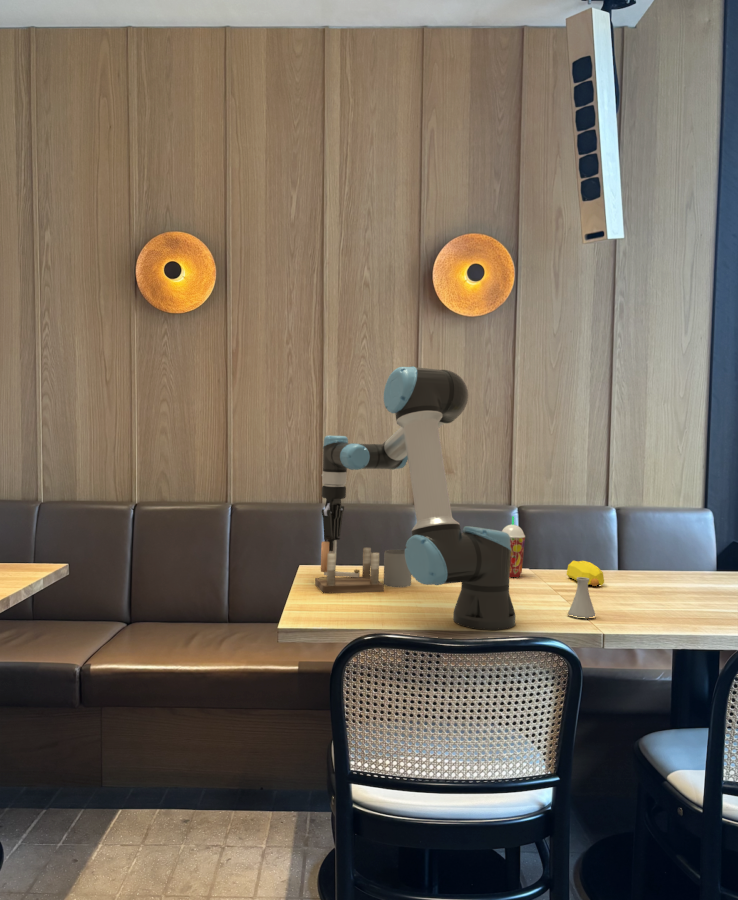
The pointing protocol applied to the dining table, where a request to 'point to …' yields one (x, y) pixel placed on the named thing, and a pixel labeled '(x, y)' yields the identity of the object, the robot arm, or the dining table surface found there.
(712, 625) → the dining table surface
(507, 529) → the smoothie
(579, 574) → the yellow lumpy oval
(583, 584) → the flask
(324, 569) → the crank handle
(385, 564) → the cup
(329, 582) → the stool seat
